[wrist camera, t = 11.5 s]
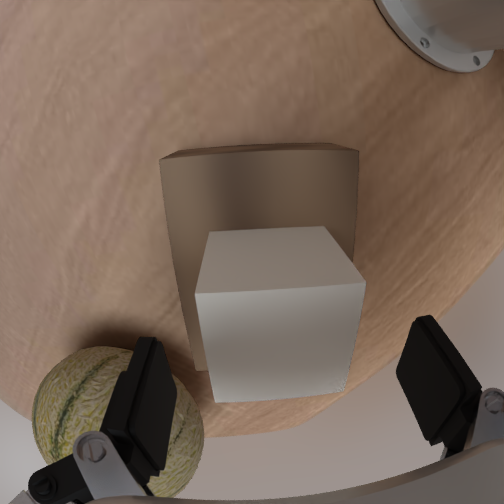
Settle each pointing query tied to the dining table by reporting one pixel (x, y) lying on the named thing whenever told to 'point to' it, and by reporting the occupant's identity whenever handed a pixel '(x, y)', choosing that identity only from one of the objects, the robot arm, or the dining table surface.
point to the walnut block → (252, 203)
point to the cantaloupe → (94, 407)
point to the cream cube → (277, 313)
